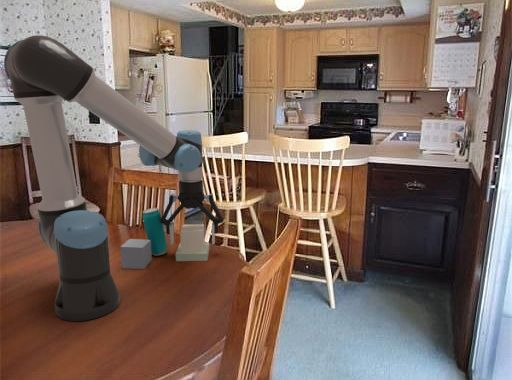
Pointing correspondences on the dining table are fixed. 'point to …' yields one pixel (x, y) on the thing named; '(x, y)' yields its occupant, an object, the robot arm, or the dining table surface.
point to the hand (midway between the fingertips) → (192, 243)
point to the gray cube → (136, 254)
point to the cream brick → (192, 238)
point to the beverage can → (155, 231)
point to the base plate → (192, 254)
